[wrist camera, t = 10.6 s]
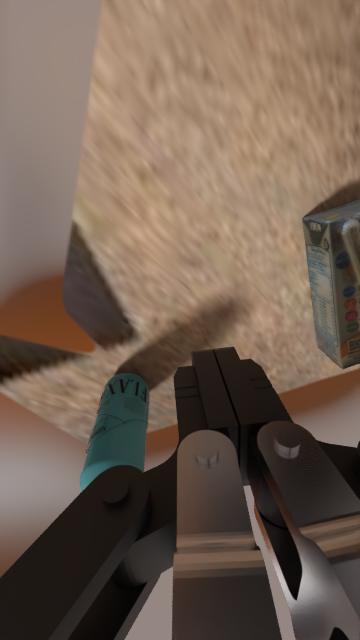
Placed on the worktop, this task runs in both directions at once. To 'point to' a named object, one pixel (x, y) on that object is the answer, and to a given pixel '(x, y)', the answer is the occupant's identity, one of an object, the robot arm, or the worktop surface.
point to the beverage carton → (335, 280)
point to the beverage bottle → (118, 427)
